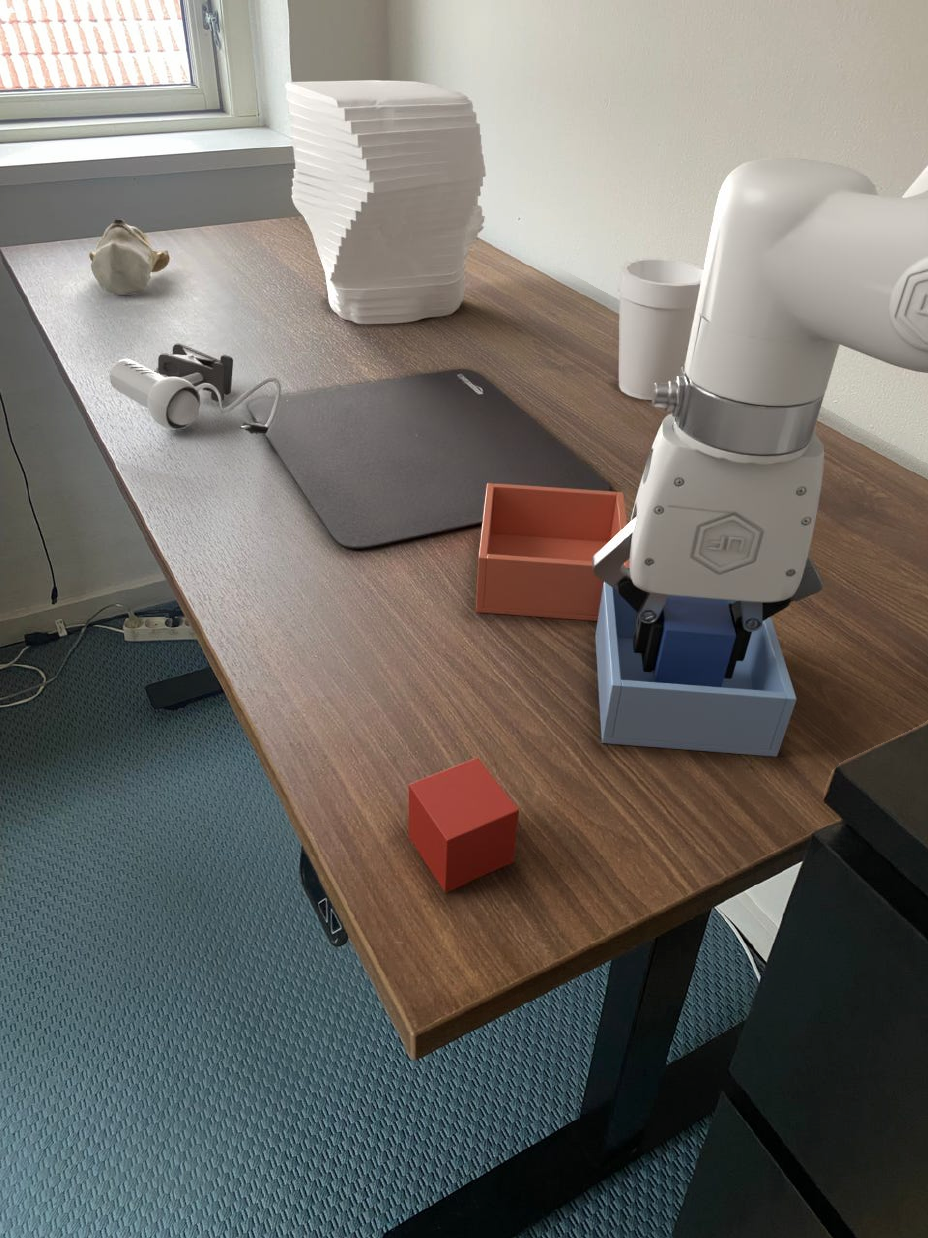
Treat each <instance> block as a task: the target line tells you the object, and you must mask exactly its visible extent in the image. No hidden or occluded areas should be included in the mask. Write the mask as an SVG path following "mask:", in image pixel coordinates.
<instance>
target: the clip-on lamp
mask: <svg viewBox="0 0 928 1238" xmlns="http://www.w3.org/2000/svg"><path fill="white" fill-rule="evenodd" d="M157 360H158V361H157V368H156V369H154V370H152V369H150V368H148V367H146V366H144V365H143V364H140V363H138V362H136V361H134V360H132V359H129V358H123V359H120V360H118V361H116V362H115V363H114V364H113V365H112V367H111V368H110V371H109V382H110V384H111V386H112V388H113V389H114V390H116V391H117V392H119V393H120V394H122V395H124V396H125V397H127V398H129V399H131V400H132V401H134V402H136V403H138V404H139V405H141V406H142V407H145V409H148V412H149V414H150V415H151V418H152V419H153V420H154V421H155V422H156V423H157V424H159V425H160V426H161V427H163V428H165V429H169V430H172V431H179V430H184V429H186V428H188V427H189V426H190V425H191V424H192V423H194V421H196V419H197V418H198V416H199V414H200V408H201V395H200V393H199V392H200V391H201V390H203V391H207V392H209V393H210V398H211V400H212V401H214V402H217V403H218V404H219V405H218V406H219V410H220V412H221V413H222V414H227V413H229V412H231V411H232V410H234V409H235V408H237V407H238V406H239V405H240V404H242V403H243V402H244V401H245V400H246V399H247V398H249V397H250V396H251V395H253V393H254V392H256V391H257V390H258V389H260V388H261V387H262V386H264V385H267V384H268V383H271V382H272V383H274V384H276V394H275V396H276V399H275V403H274V406H273V409H272V412H271V415H270V417H269V419H268V421H267V423H266V424H265V426H264V425H262V424H258V423H257V422H251V421H243V423H242V425H241V426H239V429H240V430H245V431H247V432H248V433H249V434H251V435H253V434H256V435H258V434H264V435H265V434H266V433H267V431H268V427H269V426H270V425H271V423H272V421H273V419H274V416H275V413H276V410H277V407H278V403H279V399H280V395H281V389H282V388H281V383H280V380H279V379H277V378H276V377H268V378H265V379H263V380H260V381H259V382H258V383H256V384H255V385H253V386H252V387H251V388H249V389H248V390H247V391H246V392H244V393H243V394H242V395H240V397H238V398H237V399H236V400H235V401H233V402H232V403H230V404H229V405H228V406H226V407H223V401H224V400H225V395H226V396H228V395H230V394H231V393H232V382H233V369H234V359H233V357H231V356H229V355H227V354H222V355H221V356H220V359H218V358H216V357H213V356H211V355H209V354H206V353H204V352H201V351H200V350H197V349H194V348H192V347H189V346H187V345H184V344H182V343H179V342H178V343H176V344H175V343H174V344H173V345H172V354H171V353H161V354H159V356H158V359H157Z"/></svg>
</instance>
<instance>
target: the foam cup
mask: <svg viewBox="0 0 928 1238" xmlns="http://www.w3.org/2000/svg"><path fill="white" fill-rule="evenodd" d="M703 269H704V267H702V266H700V265H698V264H695V263H692V262H688V261H683V260H679V259H671V258H659V257H652V258H649V257H648V258H637V259H632V260H629V261H626V262H625V263H624V264H622V266H620V271H619V277H618V286H617V292H618V293H619V300H618V301H619V304H618V305H619V309H618V313H619V314H618V316H619V317H618V387H619V390H620V391H621V392H622V393H623V394H625V395H627V396H629V397H632V398H635V399H639V400H644V401H645V400H647V401H652V394H653V388H654V384H655V383H666V384H668V382H669V381H675V380H676V377H677V376H680V372H681V367H682V366H685V362H686V356H687V351H688V346H689V341H690V336H691V331H692V326H693V320H694V315H695V310H696V305H697V300H698V295H699V290H700V284H701V279H702V274H703Z"/></svg>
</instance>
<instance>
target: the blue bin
mask: <svg viewBox="0 0 928 1238" xmlns="http://www.w3.org/2000/svg"><path fill="white" fill-rule="evenodd" d="M727 602H728V605H729V603H732V604H733V603H735V602H736V601H731V600H727ZM637 616H638V613H637V612H636V611H635V610H634V609H633V608H632V607H631V606H630V605H629V604H628V603H627V602H626V601H625V599H624V598H623V597H622V596H621V595H620V594H619V591H618V590H617V589H615V588H614V587H613V588H612V587H611V586H609V585H608V584H607V583H605V582H604V584H603V590H602V597H601V603H600V609H599V616H598V621H596V622H597V623H596V628H595V629H596V630H595V637H594V638H595V652H596V654H595V655H596V669H597V685H598V702H599V703H598V704H599V718H600V719H599V720H600V736H601V743H602V744H609V745H623V746H636V747H647V748H659V749H671V750H672V749H673V750H687V751H697V752H698V751H699V752H711V753H712V752H713V753H725V754H736V755H747V756H761V757H762V756H764V757H774V758H776V757H778V754H779V753H780V749H781V746H782V743H783V740H784V738H785V735H786V732H787V728H788V726H789V723H790V720H791V717H792V714H793V711H794V708H795V705H796V702H797V696H796V692H795V689H794V686H793V683H792V680H791V676H790V674H789V670H788V666H787V664H786V661H785V658H784V654H783V651H782V647H781V645H780V642H779V638H778V636H777V632H776V629H775V626H774V622H773V620H772V619H773V618H772V616H771V617H769V618H767V619H766V620H764V621H762V626H761V628H760V629H759V630H757V631H754V632H752V634H751V638H750V641H749V644H748V648H747V651H746V655H745V658H744V660H743V661H737V662H736V666H735V669H734V673H733V676H732V678H731V679H727V678H724V680H723V684H722V687H710V686H697V685H685V684H672V683H660V682H655V681H654V674H653V671H652V672H644V671H643V664H642V656H641V653H634V651H633V636H634V631H635V626H636V621H637Z"/></svg>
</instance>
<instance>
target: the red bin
mask: <svg viewBox="0 0 928 1238" xmlns="http://www.w3.org/2000/svg"><path fill="white" fill-rule="evenodd" d="M625 502H626V501H625V493H624V492H623V491H611V490H610V491H597V490H582V489H568V488H553V487H539V486H524V485H510V484H494V483H487V488H486V497H485V506H484V515H483V523H482V524H481V533H480V541H479V542H480V543H479V552H478V561H477V563H478V564H477V578H476V579H477V582H476V599H475V612H476V613H482V614H484V613H485V614H495V615H496V614H497V615H507V616H509V615H510V616H521V617H522V616H523V617H535V618H536V617H537V618H550V619H563V620H578V621H592V622H598V616H599V609H600V603H601V597H602V590H603V584H604V581H603V580H601V579H600V578H599V577H597V576H596V575H595V574H594V573H593V566H592V558H593V556H594V555H595V554H596V553H597V552H598V551H600V550H601V549H602V548H603V547H604V546H605V545H606V544H607V543H608V542H609V541H610V540H612V539H613V538H614V537H615V536H616V535H617V534H618V533H619V532H620V531H621V530H622V529H623V528H625V527H626V526H627V525H628V519H627V518H628V517H627V510H626V509H627V508H626V503H625ZM629 561H630V558H629V559H628V560H627V561H626V562H625V563H623V564H624V565H625V567H626V568H629Z"/></svg>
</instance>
